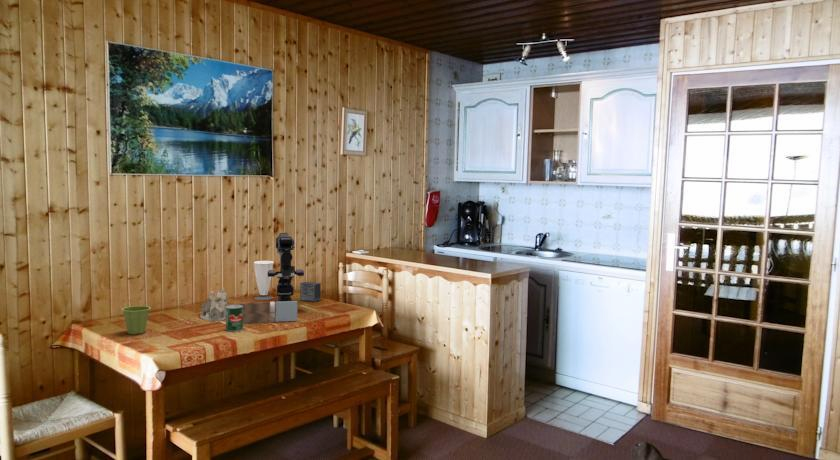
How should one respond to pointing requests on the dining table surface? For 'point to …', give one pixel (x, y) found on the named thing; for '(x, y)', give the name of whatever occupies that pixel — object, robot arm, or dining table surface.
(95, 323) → the dining table surface
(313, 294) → the small box
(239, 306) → the canned tomato
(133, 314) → the plant pot
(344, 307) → the dining table surface
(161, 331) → the dining table surface
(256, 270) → the cup
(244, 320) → the walnut leaf
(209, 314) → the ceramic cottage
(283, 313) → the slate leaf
